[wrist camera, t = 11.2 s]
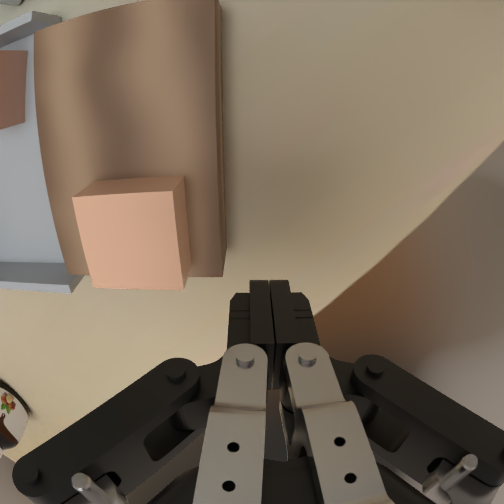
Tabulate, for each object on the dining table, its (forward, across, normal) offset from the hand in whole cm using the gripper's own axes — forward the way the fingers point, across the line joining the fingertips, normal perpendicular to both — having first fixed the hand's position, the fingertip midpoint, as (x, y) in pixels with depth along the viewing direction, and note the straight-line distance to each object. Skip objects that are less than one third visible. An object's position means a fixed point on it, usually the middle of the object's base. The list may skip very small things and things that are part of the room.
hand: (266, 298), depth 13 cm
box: (+12, +21, -5) cm, 25 cm away
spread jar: (+13, +43, +32) cm, 55 cm away
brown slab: (+12, +8, -5) cm, 16 cm away
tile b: (+8, +8, 0) cm, 11 cm away
